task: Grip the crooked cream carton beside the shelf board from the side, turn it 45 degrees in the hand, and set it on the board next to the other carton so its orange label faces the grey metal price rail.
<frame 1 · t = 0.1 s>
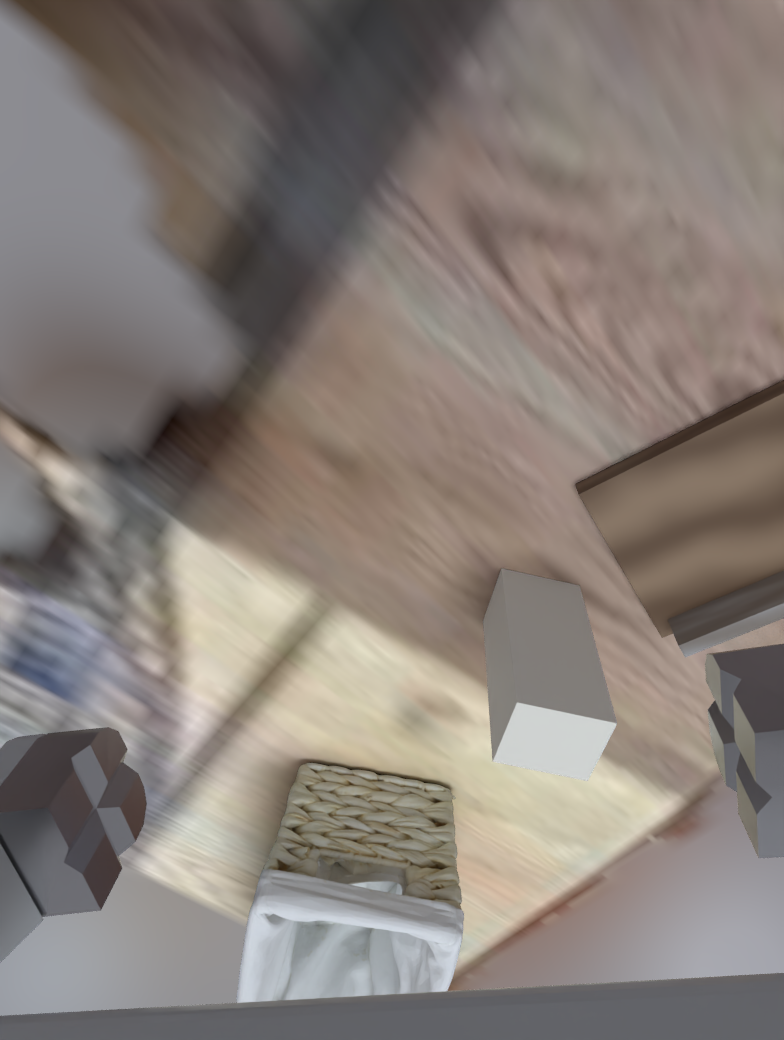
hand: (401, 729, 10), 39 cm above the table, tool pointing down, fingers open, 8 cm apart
storage basket: (356, 842, 72), on the table
cream carton: (530, 603, 56), on the table
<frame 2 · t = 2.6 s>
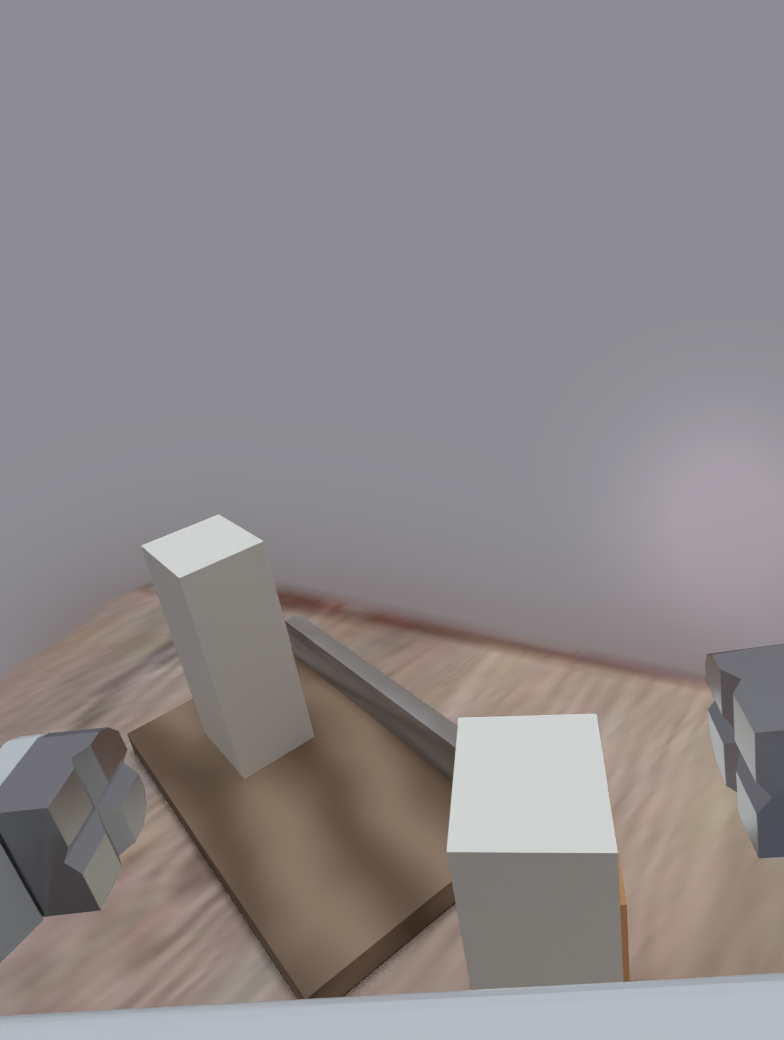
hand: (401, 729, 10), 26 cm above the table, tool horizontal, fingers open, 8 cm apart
shelf board: (308, 787, 45), on the table
cream carton: (555, 1032, 30), on the table
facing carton: (258, 734, 48), point 1 cm above the table, touching shelf board
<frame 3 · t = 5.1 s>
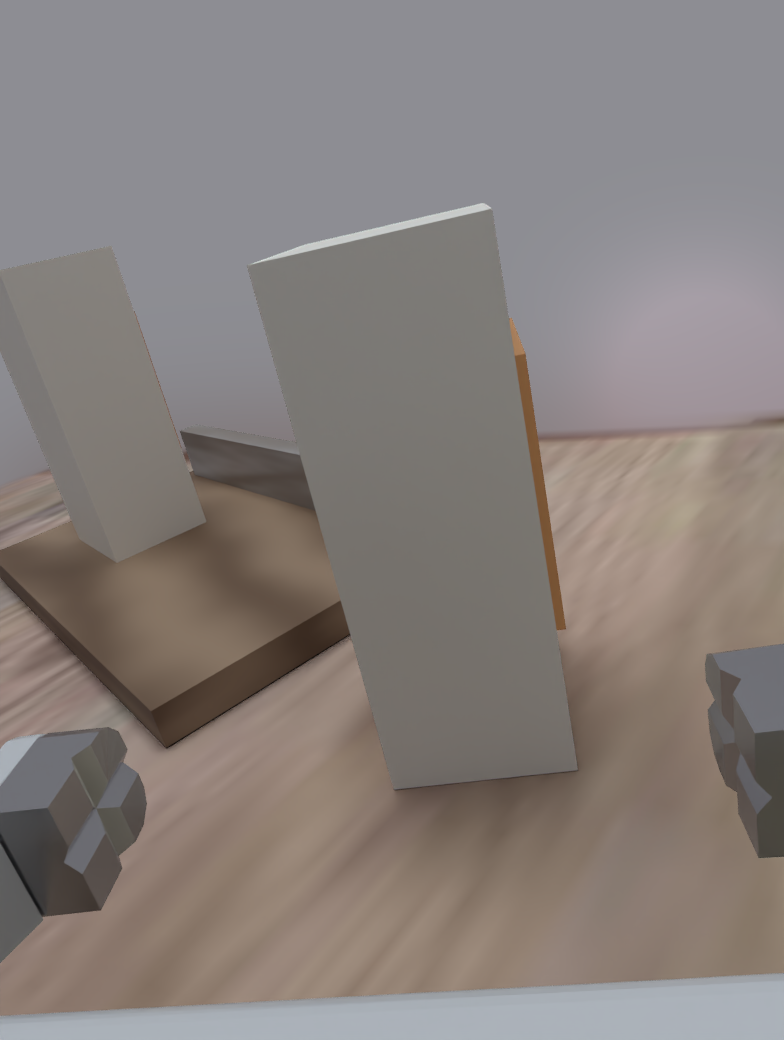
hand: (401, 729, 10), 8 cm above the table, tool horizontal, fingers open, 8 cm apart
shelf board: (198, 571, 37), on the table
cream carton: (481, 709, 23), on the table
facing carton: (141, 530, 40), point 1 cm above the table, touching shelf board
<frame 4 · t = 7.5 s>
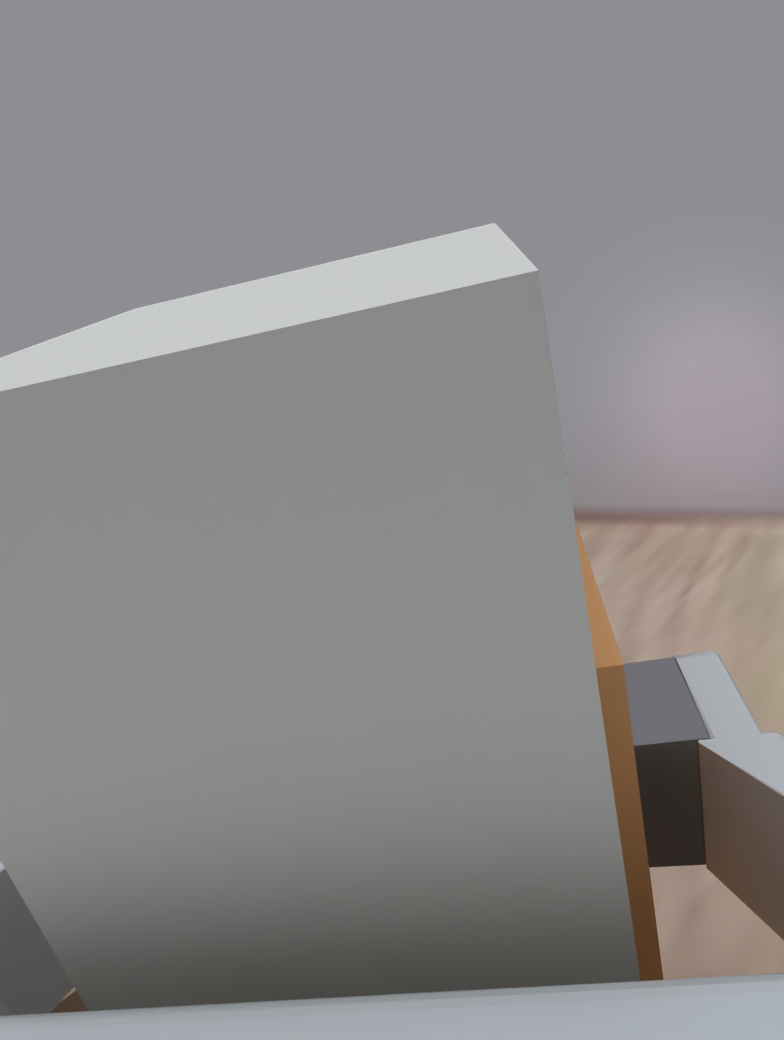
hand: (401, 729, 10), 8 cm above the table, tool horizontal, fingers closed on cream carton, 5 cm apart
shelf board: (97, 720, 27), on the table
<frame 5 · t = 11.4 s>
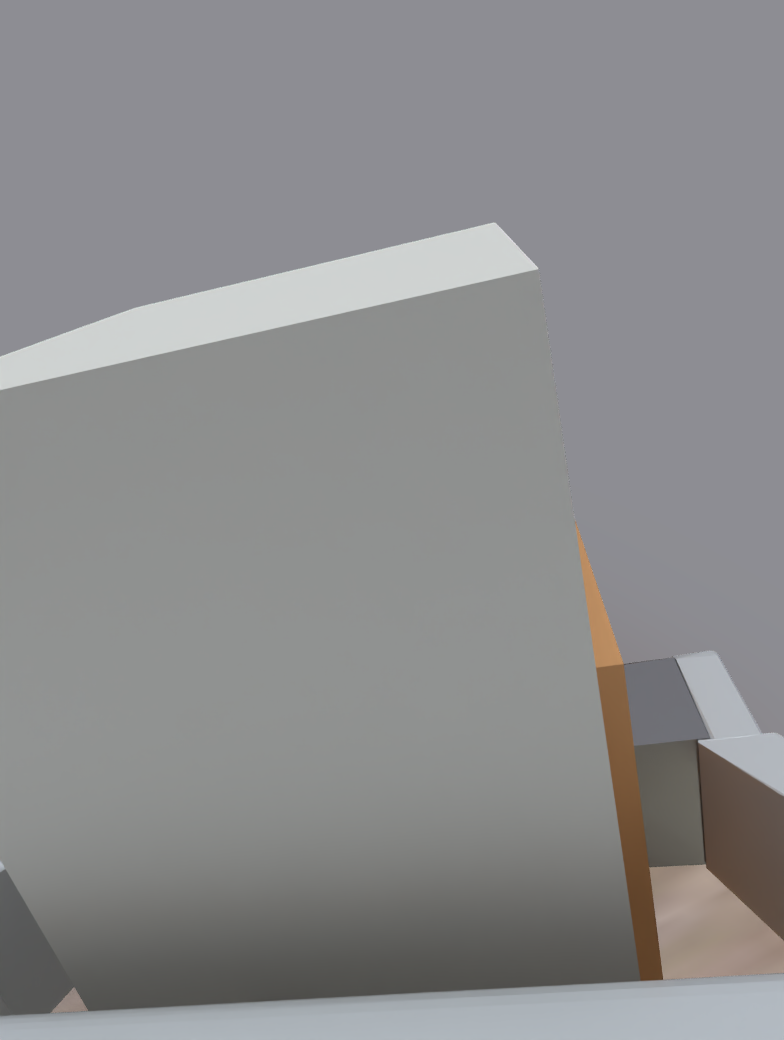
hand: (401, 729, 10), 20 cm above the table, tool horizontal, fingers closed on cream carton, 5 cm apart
when the fingers open (11 cm above the table, at t = 15.4 s): cream carton drops 1 cm, resting on shelf board.
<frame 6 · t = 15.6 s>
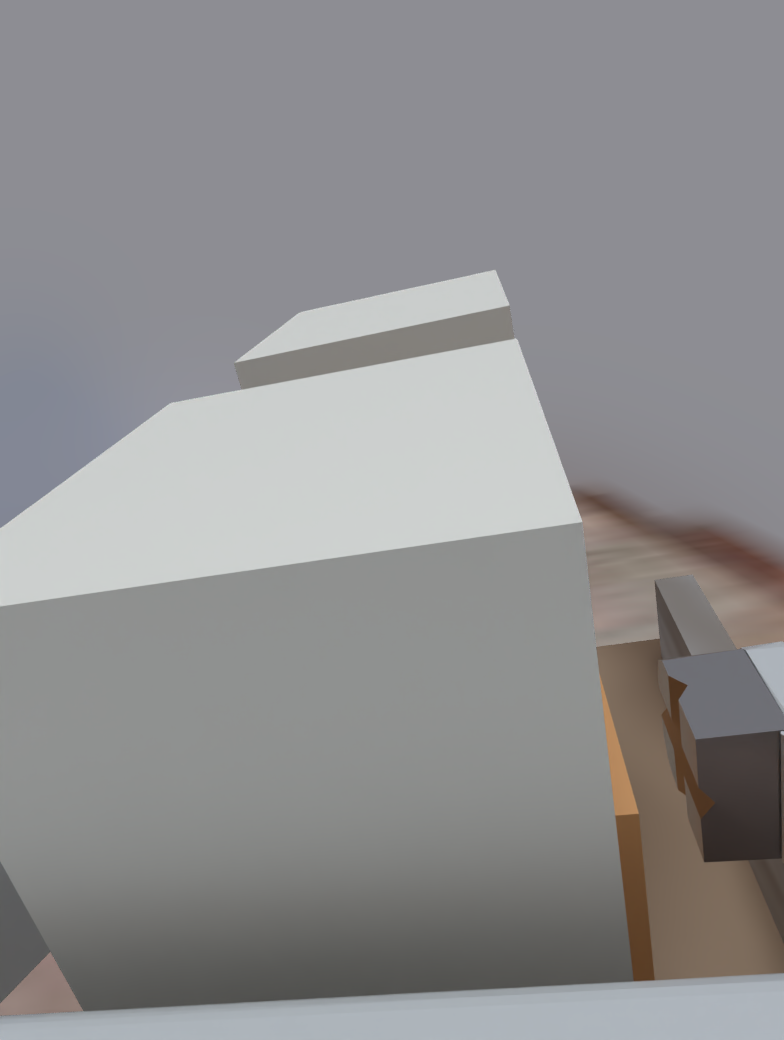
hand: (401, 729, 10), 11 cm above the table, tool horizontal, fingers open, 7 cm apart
shelf board: (531, 1015, 17), on the table
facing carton: (490, 804, 21), point 1 cm above the table, touching shelf board
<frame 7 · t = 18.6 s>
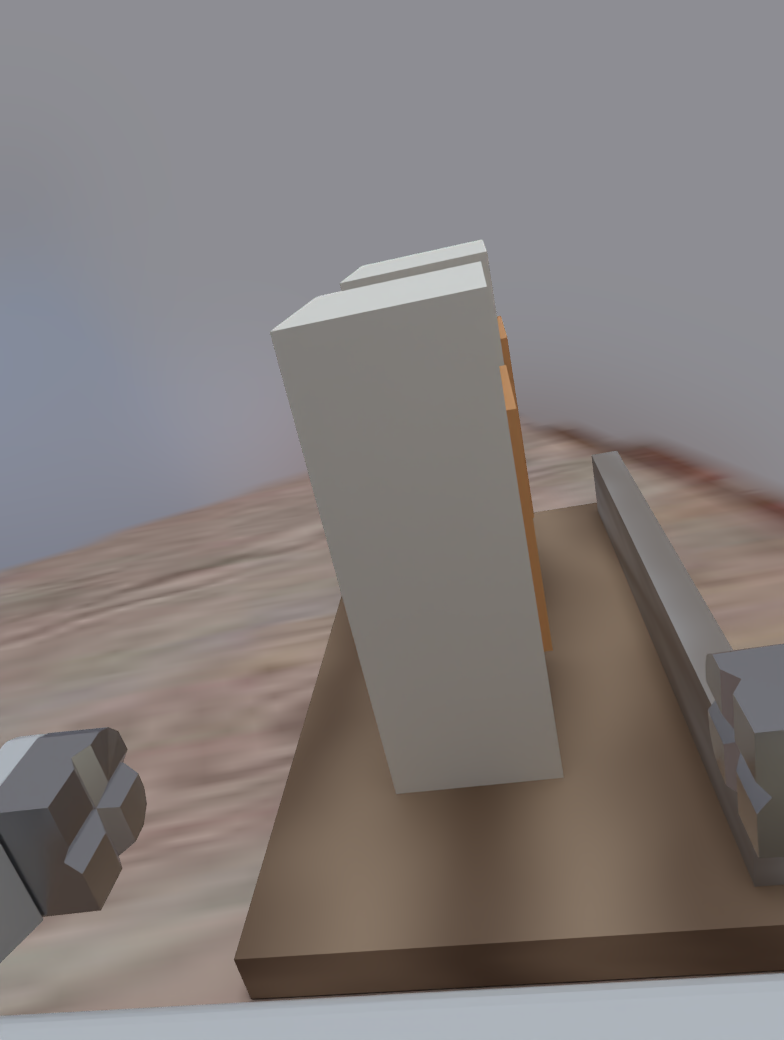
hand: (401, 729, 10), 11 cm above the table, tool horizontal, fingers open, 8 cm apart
shelf board: (501, 681, 29), on the table
cream carton: (476, 719, 25), point 1 cm above the table, touching shelf board
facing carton: (479, 586, 33), point 1 cm above the table, touching shelf board
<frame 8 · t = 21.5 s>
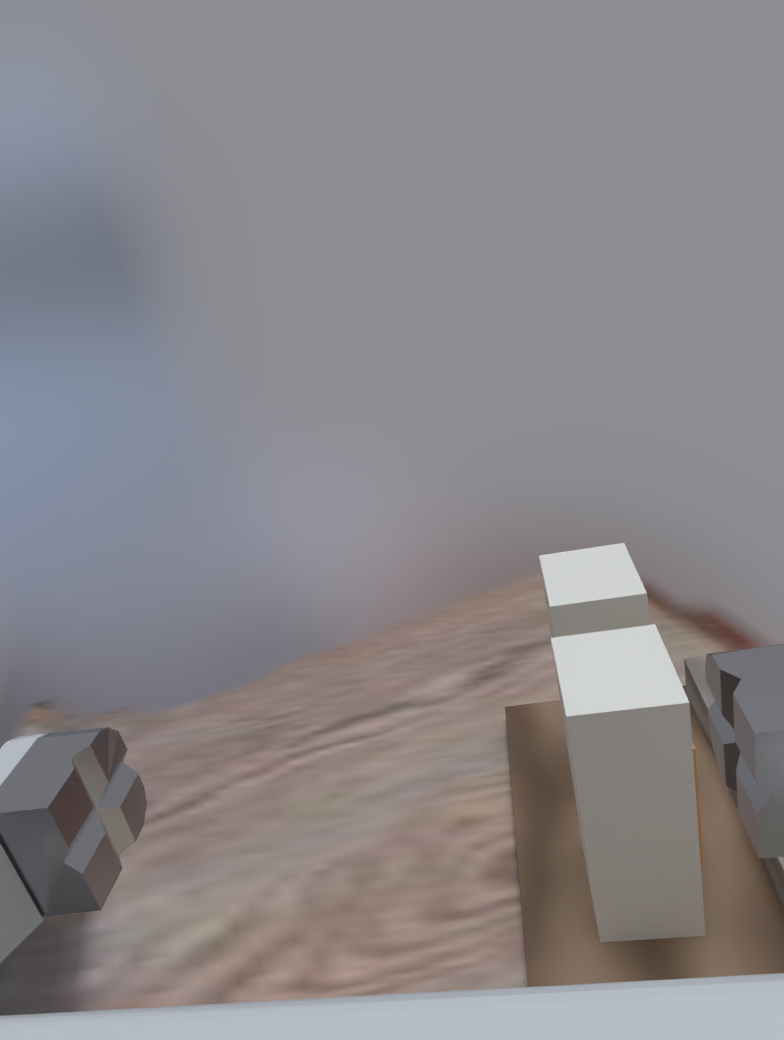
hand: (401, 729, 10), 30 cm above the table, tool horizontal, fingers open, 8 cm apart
shelf board: (640, 845, 43), on the table
cream carton: (639, 886, 39), point 1 cm above the table, touching shelf board
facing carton: (612, 765, 47), point 1 cm above the table, touching shelf board
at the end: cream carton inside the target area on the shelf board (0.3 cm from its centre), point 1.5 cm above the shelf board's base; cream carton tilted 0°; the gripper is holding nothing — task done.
